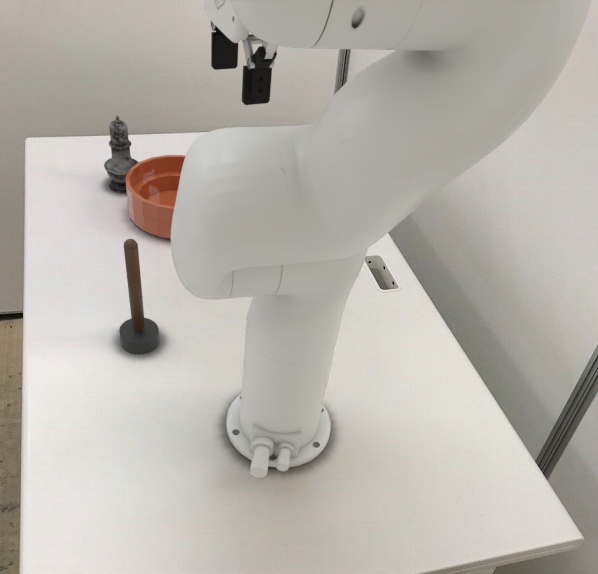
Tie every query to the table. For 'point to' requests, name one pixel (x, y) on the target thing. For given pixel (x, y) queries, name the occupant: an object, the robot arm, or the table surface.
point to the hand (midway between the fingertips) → (239, 85)
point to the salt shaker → (119, 156)
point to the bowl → (154, 193)
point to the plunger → (136, 308)
